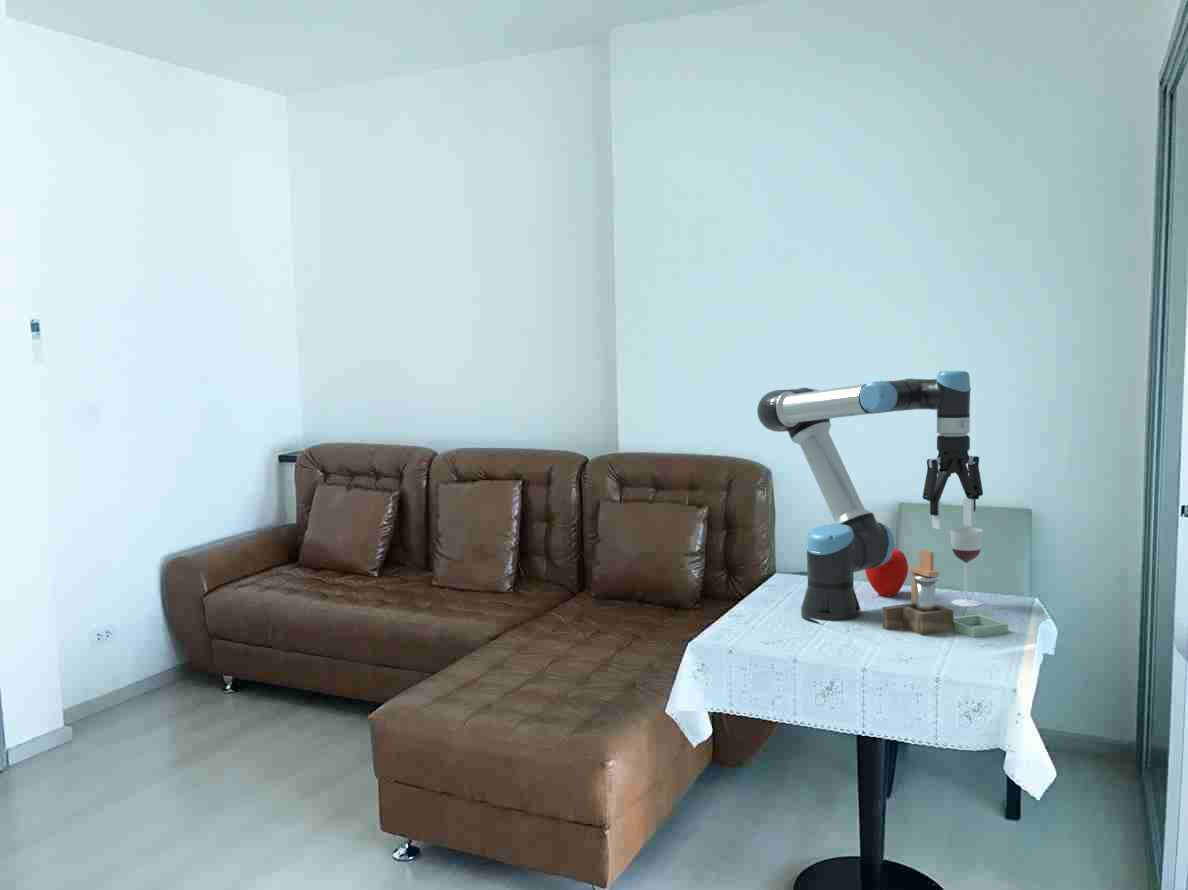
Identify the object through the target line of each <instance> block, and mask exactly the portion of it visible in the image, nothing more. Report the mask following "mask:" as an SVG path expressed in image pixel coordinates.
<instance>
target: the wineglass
mask: <svg viewBox="0 0 1188 890" xmlns="http://www.w3.org/2000/svg"><path fill="white" fill-rule="evenodd" d="M983 532H984V531H983V529H982V528H977V527H972V526H968V527H966V526H965V527H964V526H961V527H960V526H959V527H952V528H950V544H951V548H952V552H953V555H954V556H955V557H956V558H958V559H959V560H961V561H963V562H964V599H963V598H962V599H953V600H951V604H953V605H956V606H961V607H978V606H981V605H982V603H981V602H980V601H977V600H972V599H969V598H968V595H969V593H968V591H969V587H968V586H969V578H968V577H969V572H968V571H969V568H968V567H969V566H968V565H969V562H971V561H972V560H974V559H975V558H977V557H978V556H979V554H980V552H981V549H982V546H983V545H982V544H983Z"/></svg>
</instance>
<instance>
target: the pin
mask: <svg viewBox="0 0 1188 890" xmlns="http://www.w3.org/2000/svg"><path fill="white" fill-rule="evenodd" d="M914 580H915V581H916V610H919V611H922V612H929V611H935V604H936V583H937V582H938V581H939V576H932V577H927V576H924V575H921V574H914Z"/></svg>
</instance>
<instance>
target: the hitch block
mask: <svg viewBox="0 0 1188 890" xmlns="http://www.w3.org/2000/svg"><path fill="white" fill-rule="evenodd" d="M953 618H954V609H950V608H947V607H944V606H941V605H939V604H937V603H935V611H929V612H922V611H919V610H916V604H914V603H912V602H911V603H904V604H896V605H890V606H884V607H882V629H884V630H886V631H890V630H891V631H892V630H897V629H905V630H907V631H910V632H913V633H914V634H918V635H920V636H928V635H934V634H940V633H941V634H942V633H948V632H949V633H950V632H954V630H953Z"/></svg>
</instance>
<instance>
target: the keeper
mask: <svg viewBox="0 0 1188 890" xmlns="http://www.w3.org/2000/svg"><path fill="white" fill-rule="evenodd" d="M918 554H919V557H918V559H919V561H918V562H919V563H918V565H914V566H908V572H910V581H911V582H910V583H911V584H910V595H911V596H910V598H911V599H910V602H911V603H914V604H916V581H915V580H914V574H921V575H924V576H927V577H932V576H938V577H939V575H940V571H938V570H935V569H934V555H935V553H934V551H931V550H928V549H924V548H921V549H919V553H918Z"/></svg>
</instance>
